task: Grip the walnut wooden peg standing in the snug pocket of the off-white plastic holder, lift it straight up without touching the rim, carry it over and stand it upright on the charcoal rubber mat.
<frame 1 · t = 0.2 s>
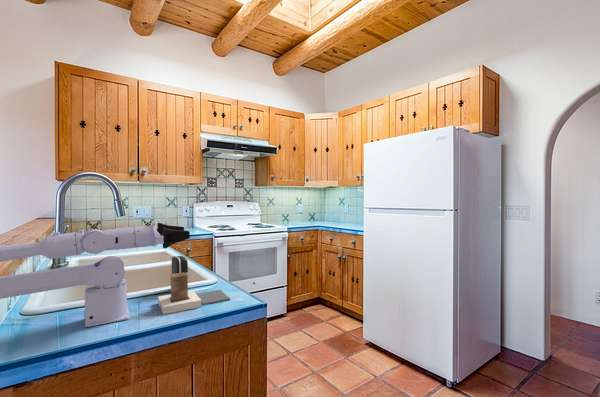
hand: (186, 232, 91), 21 cm above the countertop, tool horizontal, fingers open, 7 cm apart
peg: (179, 289, 90), in the holder
holder: (179, 305, 90), on the countertop
mat: (212, 297, 96), on the countertop
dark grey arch: (180, 290, 104), on the countertop
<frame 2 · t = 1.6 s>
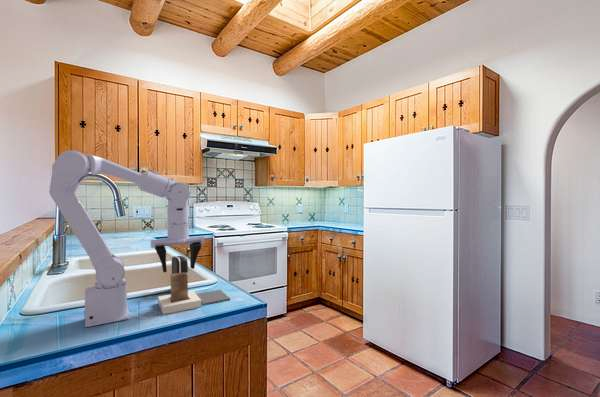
hand: (178, 269, 90), 10 cm above the countertop, tool pointing down, fingers open, 7 cm apart
nothing on the countertop moved.
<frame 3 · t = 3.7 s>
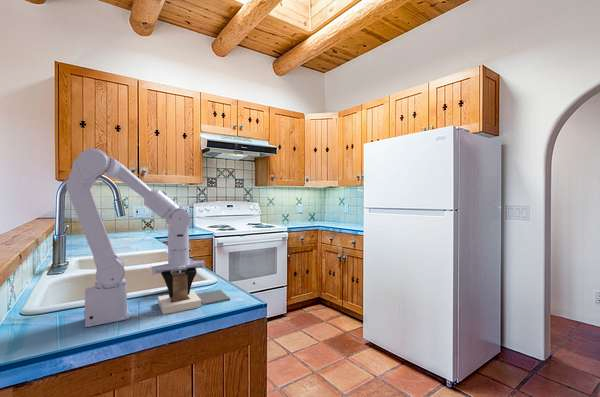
hand: (179, 295, 90), 3 cm above the countertop, tool pointing down, fingers closed on peg, 4 cm apart
peg: (179, 289, 90), in the holder, touching gripper
everything else where it was.
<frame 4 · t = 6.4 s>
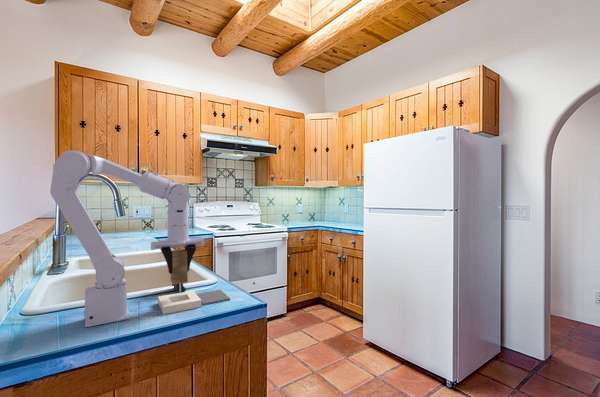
hand: (178, 271, 90), 10 cm above the countertop, tool pointing down, fingers closed on peg, 4 cm apart
peg: (178, 266, 90), point 11 cm above the countertop, touching gripper
everything else where it was.
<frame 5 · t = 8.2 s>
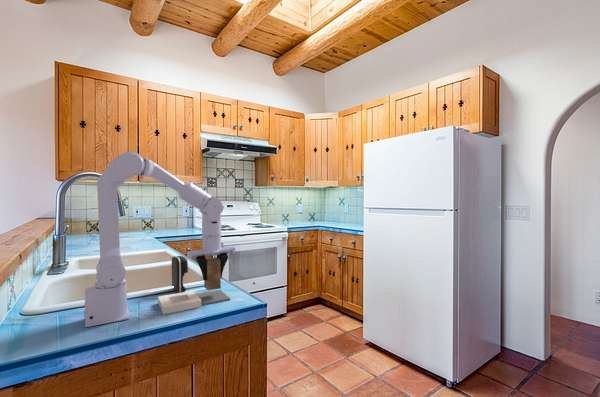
hand: (212, 278, 96), 6 cm above the countertop, tool pointing down, fingers closed on peg, 4 cm apart
peg: (212, 273, 96), point 8 cm above the countertop, touching gripper
everything else where it was.
when the fingers open (4 cm above the countertop, at t = 9.4 s): peg stays where it is, resting on mat.
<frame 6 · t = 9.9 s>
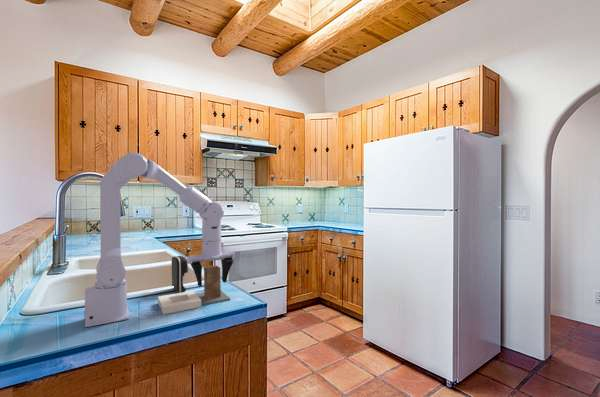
hand: (212, 283, 96), 4 cm above the countertop, tool pointing down, fingers open, 7 cm apart
peg: (212, 281, 96), on the mat
everything else where it was.
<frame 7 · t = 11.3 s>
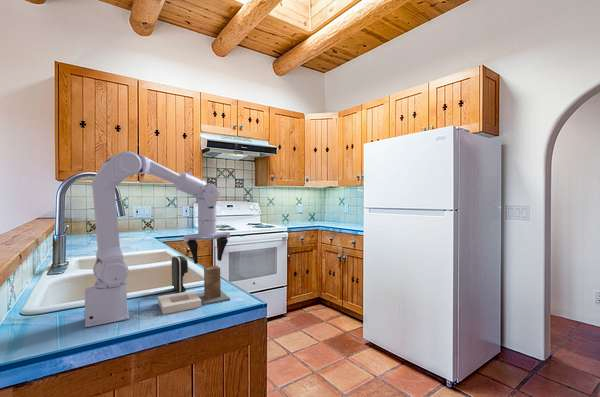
hand: (207, 261, 100), 10 cm above the countertop, tool pointing down, fingers open, 7 cm apart
nothing on the countertop moved.
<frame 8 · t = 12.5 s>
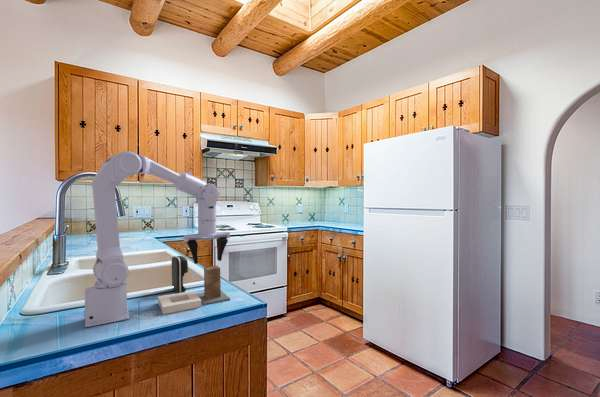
hand: (207, 261, 100), 10 cm above the countertop, tool pointing down, fingers open, 7 cm apart
nothing on the countertop moved.
at the end: peg 0.0 cm off-centre on the mat, point 5.0 cm above the mat's base; peg tilted 0°; the gripper is holding nothing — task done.
